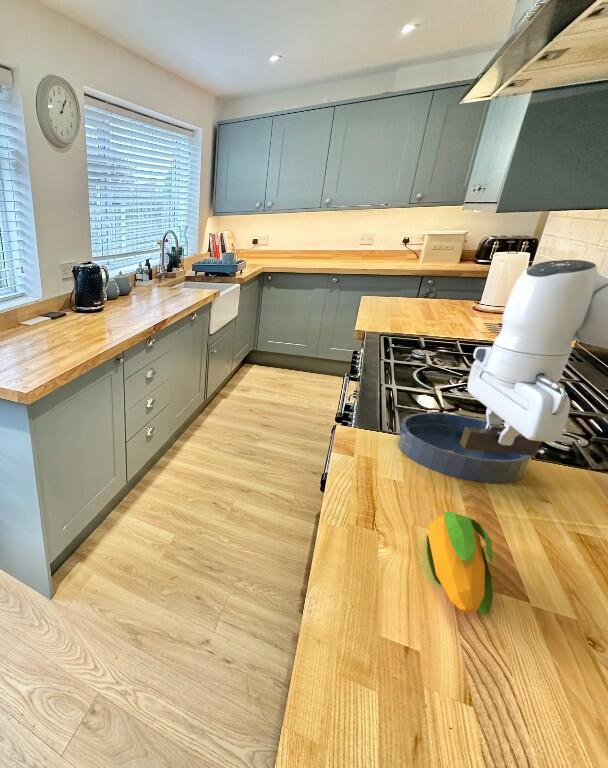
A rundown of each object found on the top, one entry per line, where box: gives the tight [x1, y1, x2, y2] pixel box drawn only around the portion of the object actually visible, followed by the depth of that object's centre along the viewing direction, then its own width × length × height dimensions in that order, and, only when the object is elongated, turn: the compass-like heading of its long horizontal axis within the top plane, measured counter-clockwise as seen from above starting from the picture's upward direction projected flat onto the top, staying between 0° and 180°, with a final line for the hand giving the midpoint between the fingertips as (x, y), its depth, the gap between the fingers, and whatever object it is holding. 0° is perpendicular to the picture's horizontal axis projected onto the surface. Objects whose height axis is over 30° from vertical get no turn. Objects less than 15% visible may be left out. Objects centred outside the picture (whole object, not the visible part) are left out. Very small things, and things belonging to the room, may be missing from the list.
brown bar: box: [460, 427, 542, 457], centre depth 73 cm, size 10×2×4 cm, turn 72°
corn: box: [426, 511, 494, 616], centre depth 60 cm, size 7×8×20 cm
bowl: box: [396, 412, 533, 484], centre depth 90 cm, size 21×21×6 cm
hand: (497, 438), depth 73 cm, fingers closed on brown bar, 2 cm apart
